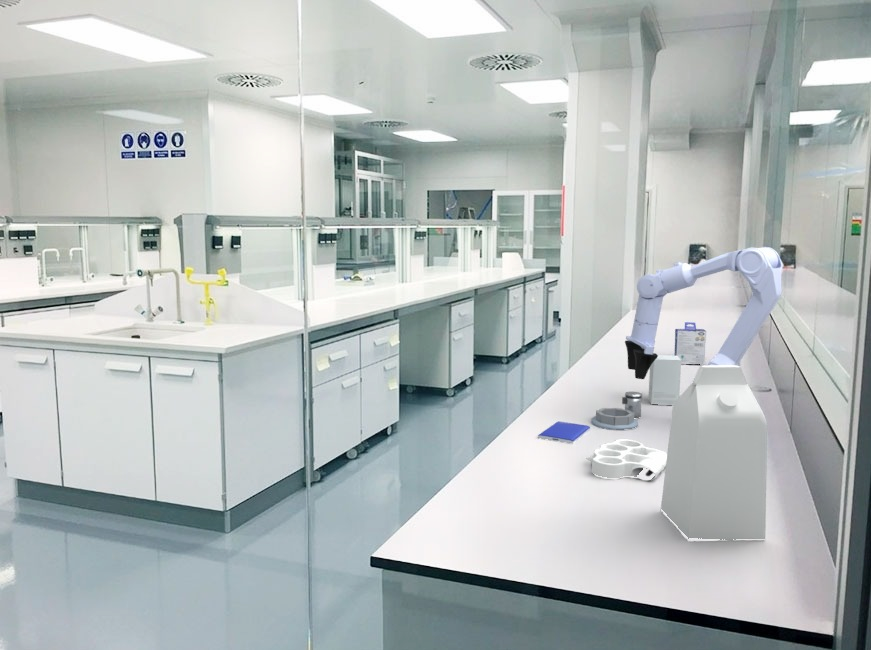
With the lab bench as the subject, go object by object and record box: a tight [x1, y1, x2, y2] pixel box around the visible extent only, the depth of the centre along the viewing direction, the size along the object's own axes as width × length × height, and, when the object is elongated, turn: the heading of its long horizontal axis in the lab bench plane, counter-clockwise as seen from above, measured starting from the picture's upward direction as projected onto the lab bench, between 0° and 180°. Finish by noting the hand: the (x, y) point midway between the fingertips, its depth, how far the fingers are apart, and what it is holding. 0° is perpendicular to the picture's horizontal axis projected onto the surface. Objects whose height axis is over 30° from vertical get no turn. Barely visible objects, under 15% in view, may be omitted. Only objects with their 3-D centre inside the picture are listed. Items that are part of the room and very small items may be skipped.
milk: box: [660, 365, 768, 540], centre depth 110 cm, size 12×12×26 cm
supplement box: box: [647, 354, 682, 407], centre depth 190 cm, size 7×7×13 cm
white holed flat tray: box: [585, 438, 667, 481], centre depth 139 cm, size 3×18×15 cm
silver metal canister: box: [621, 391, 643, 419], centre depth 176 cm, size 4×5×6 cm
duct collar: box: [591, 407, 639, 431], centre depth 170 cm, size 11×11×3 cm
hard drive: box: [537, 421, 591, 445], centre depth 161 cm, size 2×8×12 cm
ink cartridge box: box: [673, 321, 707, 366], centre depth 245 cm, size 10×6×14 cm, turn 81°
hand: (635, 373), depth 176 cm, fingers open, 7 cm apart
